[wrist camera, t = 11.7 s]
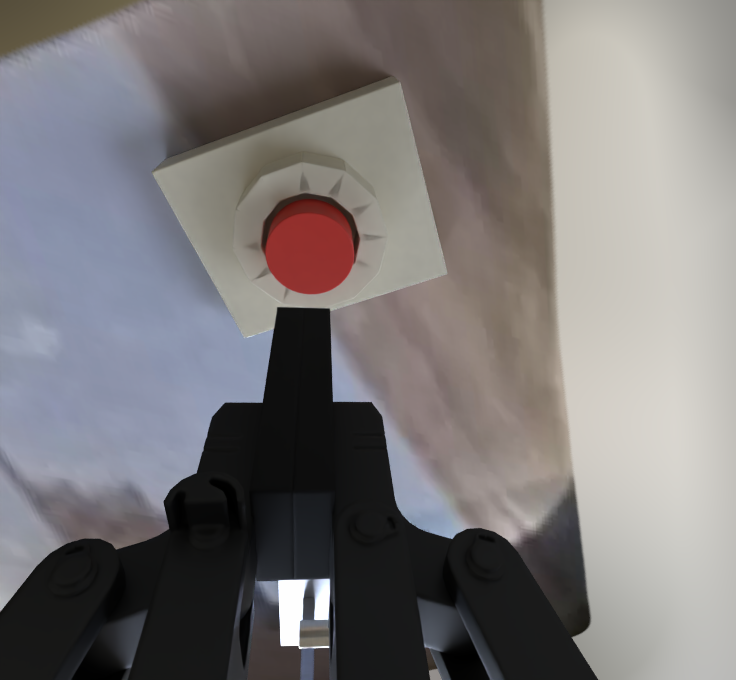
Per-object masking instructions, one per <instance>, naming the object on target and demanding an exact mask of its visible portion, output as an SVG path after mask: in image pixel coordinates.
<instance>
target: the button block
mask: <svg viewBox="0 0 736 680" xmlns="http://www.w3.org/2000/svg"><path fill="white" fill-rule="evenodd" d="M152 174H153V176H154V178H155V179H156V181H157V183H158V185H159V187H160V188H161V190H162V192H163V194H164V196H165V197H166V199H167V201H168V203H169V204H170V206H171V208H172V210H173V212H174V213H175V215H176V217H177V219H178V221H179V222H180V224H181V226H182V228H183V229H184V231H185V233H186V235H187V237H188V238H189V240H190V242H191V244H192V246H193V247H194V249H195V251H196V253H197V254H198V256H199V258H200V260H201V262H202V263H203V265H204V267H205V269H206V270H207V272H208V274H209V276H210V278H211V279H212V281H213V283H214V285H215V287H216V288H217V290H218V292H219V294H220V295H221V297H222V299H223V301H224V303H225V304H226V306H227V308H228V310H229V312H230V313H231V315H232V317H233V319H234V320H235V322H236V324H237V326H238V328H239V329H240V331H241V333H242V335H243V337H244V338H247V337H250V336H253V335H256V334H260V333H263V332H266V331H269V330H272V329H274V326H275V319H276V313H277V307H298V308H330V311H332V310H335V309H338V308H342V307H345V306H348V305H351V304H354V303H357V302H360V301H364V300H367V299H370V298H373V297H376V296H379V295H383V294H386V293H389V292H392V291H395V290H398V289H401V288H405V287H408V286H411V285H414V284H417V283H420V282H424V281H427V280H430V279H433V278H436V277H439V276H443V275H446V274H447V269H446V265H445V261H444V257H443V252H442V248H441V244H440V240H439V236H438V232H437V228H436V224H435V220H434V216H433V212H432V208H431V204H430V200H429V196H428V192H427V188H426V184H425V180H424V176H423V172H422V168H421V164H420V160H419V156H418V151H417V147H416V143H415V139H414V135H413V131H412V127H411V123H410V119H409V115H408V111H407V107H406V103H405V99H404V95H403V91H402V87H401V83H400V82H399V81H398V80H397V79H396V78H395V77H394V76H391V77H389V78H386V79H383V80H380V81H378V82H375V83H372V84H369V85H367V86H364V87H361V88H358V89H356V90H353V91H350V92H347V93H345V94H342V95H339V96H337V97H334V98H331V99H328V100H326V101H323V102H320V103H317V104H315V105H312V106H309V107H306V108H304V109H301V110H298V111H295V112H293V113H290V114H287V115H285V116H282V117H279V118H276V119H274V120H271V121H268V122H265V123H263V124H260V125H257V126H254V127H252V128H249V129H246V130H244V131H241V132H238V133H235V134H233V135H230V136H227V137H224V138H222V139H219V140H216V141H213V142H211V143H208V144H205V145H202V146H200V147H197V148H194V149H192V150H189V151H186V152H183V153H181V154H178V155H175V156H172V157H170V158H167V159H165V160H164V161H163V162H162V163H161V164H159V165H158V166H157V167H156V168H155V169H154V170H153V171H152ZM302 199H317V200H321V201H324V202H327V203H329V204H331V205H333V206H334V207H336V208H337V209H338V210H339V211H340V212H341V213H342V214H343V215H344V216H345V218H346V219H347V221H348V223H349V225H350V228H351V231H352V238H353V245H354V263H353V266H352V269H351V271H350V273H349V275H348V276H347V278H346V279H345V280H344V281H343V282H342V283H341V284H340V285H339V286H337V287H336V288H334V289H332V290H330V291H328V292H325V293H321V294H310V295H309V294H302V293H297V292H294V291H292V290H290V289H288V288H286V287H285V286H283V285H282V284H281V283H279V282H278V281H277V280H276V279H275V277H274V276H273V275H272V273H271V271H270V270H269V267H268V265H267V262H266V256H265V247H266V242H267V238H268V234H269V230H270V226H271V223H272V221H273V219H274V217H275V216H276V214H277V213H278V212H279V211H280V210H281V209H282V208H283V207H285V206H286V205H288V204H290V203H292V202H294V201H297V200H302Z"/></svg>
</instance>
